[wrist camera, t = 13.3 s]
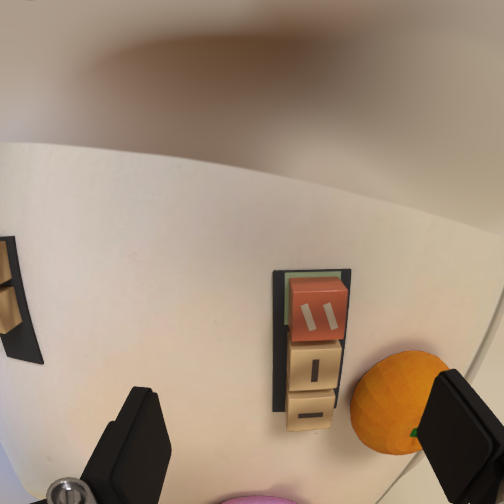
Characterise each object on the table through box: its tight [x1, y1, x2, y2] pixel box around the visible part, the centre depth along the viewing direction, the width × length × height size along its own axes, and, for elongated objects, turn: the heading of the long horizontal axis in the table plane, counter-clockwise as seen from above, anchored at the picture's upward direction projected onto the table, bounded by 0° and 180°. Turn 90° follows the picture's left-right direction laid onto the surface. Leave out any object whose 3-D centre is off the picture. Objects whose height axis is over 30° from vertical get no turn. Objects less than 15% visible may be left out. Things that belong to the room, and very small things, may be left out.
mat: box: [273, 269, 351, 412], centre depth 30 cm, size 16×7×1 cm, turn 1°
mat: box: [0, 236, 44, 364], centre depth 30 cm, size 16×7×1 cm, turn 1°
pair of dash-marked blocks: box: [285, 331, 342, 431], centre depth 29 cm, size 10×4×4 cm, turn 1°
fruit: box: [350, 351, 450, 455], centre depth 26 cm, size 12×12×10 cm
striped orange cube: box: [288, 277, 348, 342], centre depth 27 cm, size 4×4×4 cm
